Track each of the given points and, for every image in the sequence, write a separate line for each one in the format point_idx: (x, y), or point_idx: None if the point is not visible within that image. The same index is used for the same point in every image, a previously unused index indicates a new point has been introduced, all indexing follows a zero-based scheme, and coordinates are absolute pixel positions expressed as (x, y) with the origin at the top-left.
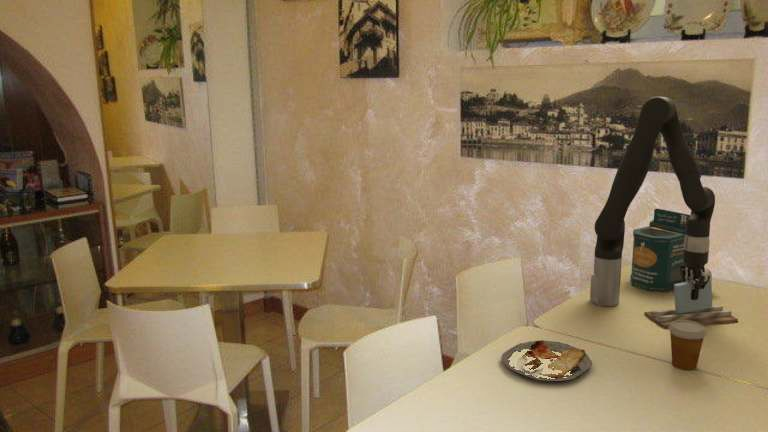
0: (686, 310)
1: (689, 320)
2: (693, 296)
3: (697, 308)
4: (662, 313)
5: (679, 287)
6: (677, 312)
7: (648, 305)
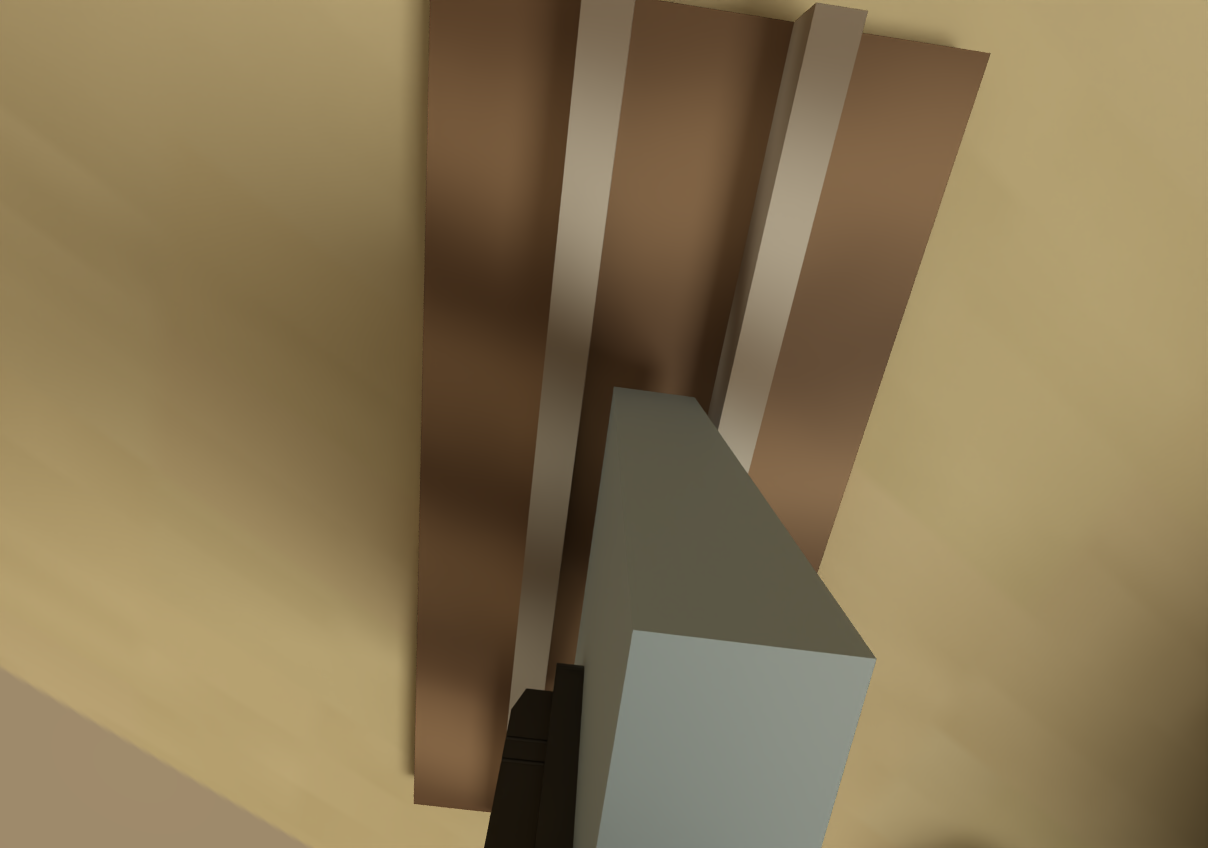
0: (598, 502)
1: (504, 429)
2: (539, 723)
3: (578, 638)
4: (758, 218)
5: (619, 655)
6: (647, 393)
7: (1159, 360)
